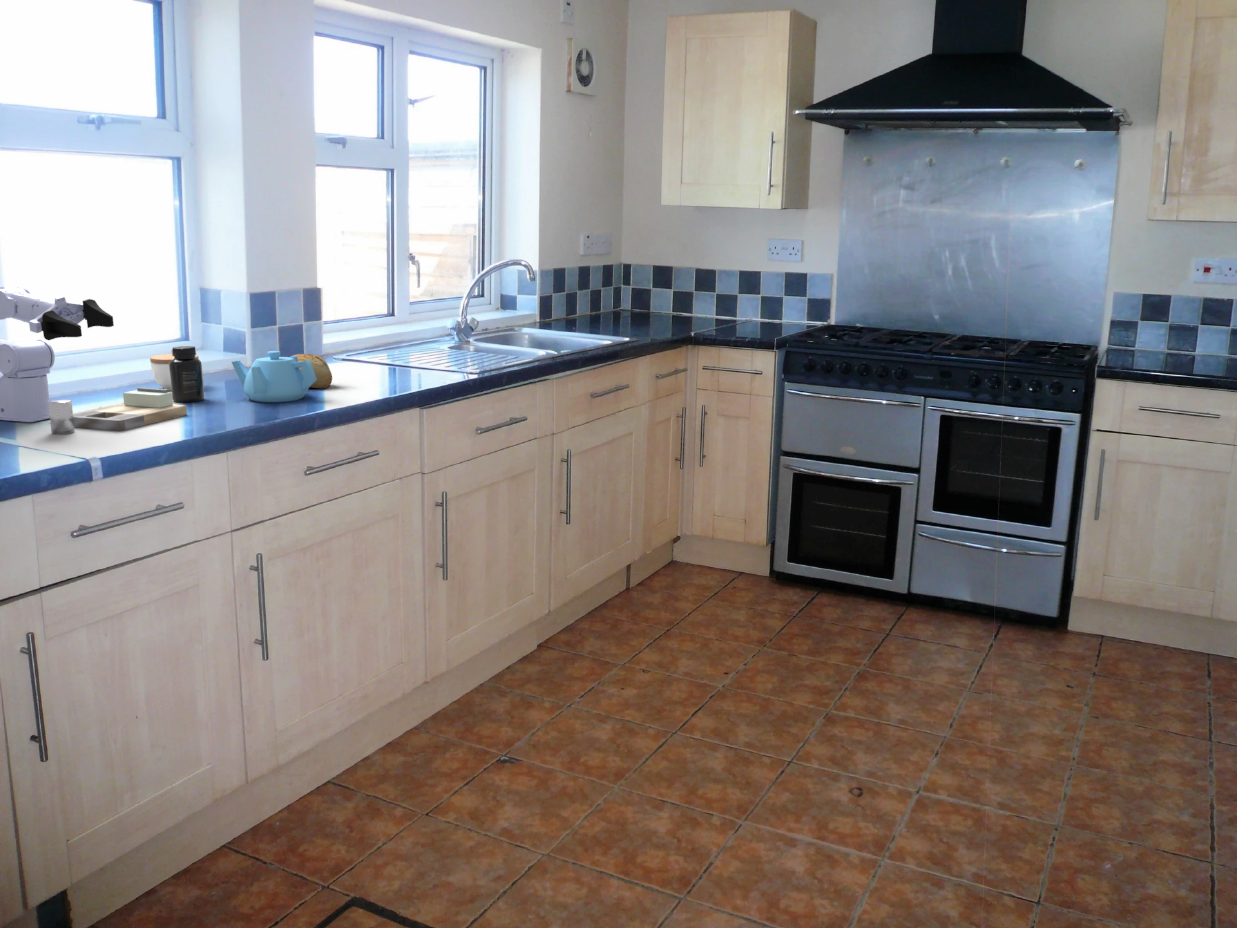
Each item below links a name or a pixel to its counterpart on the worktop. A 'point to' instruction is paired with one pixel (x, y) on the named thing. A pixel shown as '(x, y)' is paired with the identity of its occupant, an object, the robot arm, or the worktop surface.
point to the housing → (125, 416)
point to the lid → (148, 398)
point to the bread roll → (318, 370)
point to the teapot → (276, 378)
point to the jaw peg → (61, 417)
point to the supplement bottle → (186, 375)
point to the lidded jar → (162, 369)
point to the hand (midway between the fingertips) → (96, 326)
